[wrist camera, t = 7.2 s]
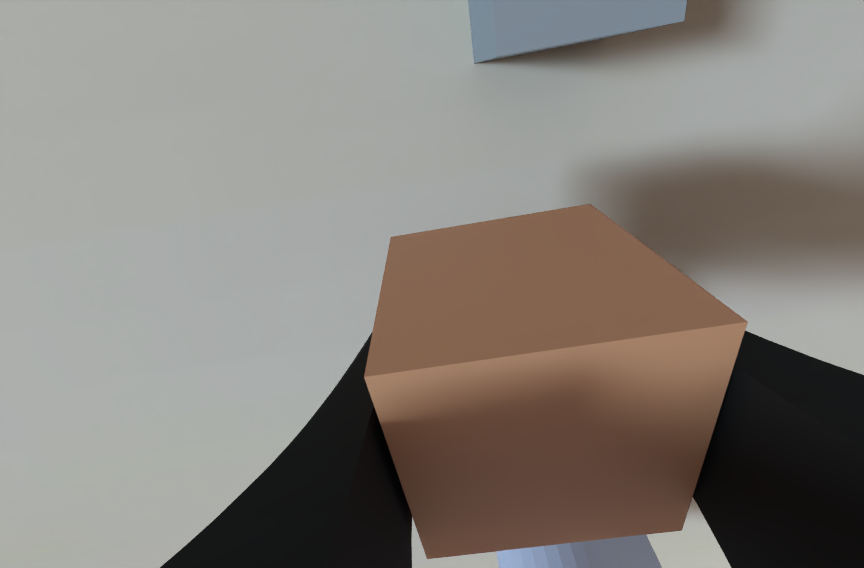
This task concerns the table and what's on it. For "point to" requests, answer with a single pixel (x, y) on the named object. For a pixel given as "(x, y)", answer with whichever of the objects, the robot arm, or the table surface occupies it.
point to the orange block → (545, 381)
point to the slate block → (560, 23)
